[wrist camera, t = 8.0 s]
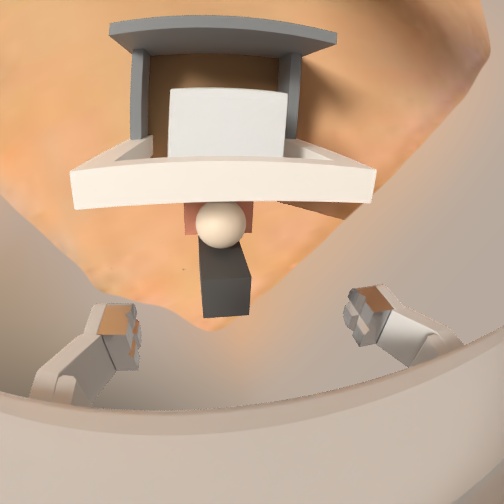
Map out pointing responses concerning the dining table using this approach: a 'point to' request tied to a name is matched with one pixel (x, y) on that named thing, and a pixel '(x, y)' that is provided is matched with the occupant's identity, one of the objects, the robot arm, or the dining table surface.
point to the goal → (218, 167)
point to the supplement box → (226, 122)
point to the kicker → (221, 254)
